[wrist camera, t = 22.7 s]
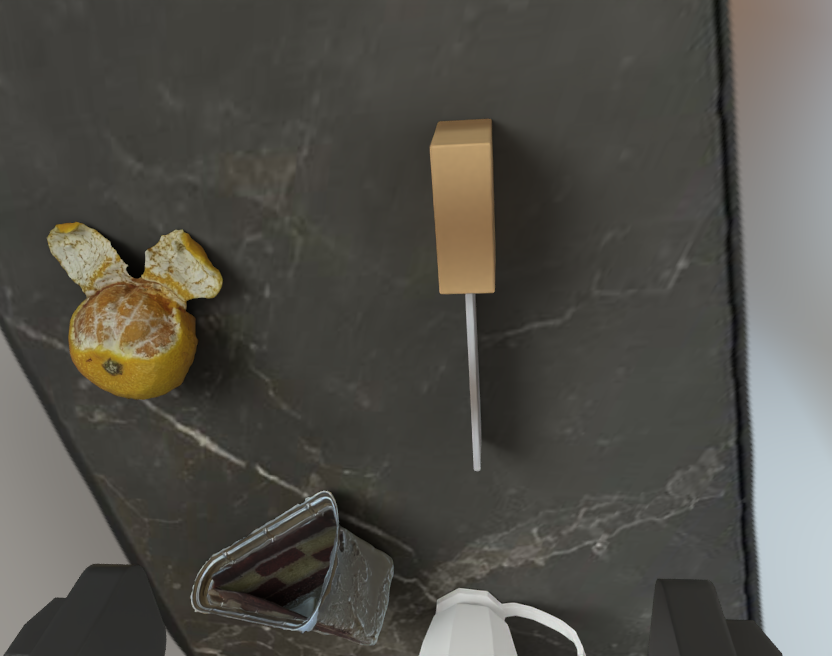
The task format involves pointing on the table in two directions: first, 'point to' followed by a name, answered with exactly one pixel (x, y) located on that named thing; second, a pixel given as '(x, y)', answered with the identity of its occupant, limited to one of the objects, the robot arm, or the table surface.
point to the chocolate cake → (300, 576)
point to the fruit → (134, 310)
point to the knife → (465, 229)
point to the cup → (481, 625)
